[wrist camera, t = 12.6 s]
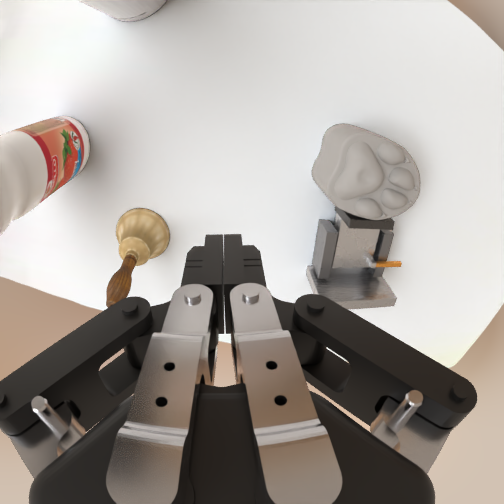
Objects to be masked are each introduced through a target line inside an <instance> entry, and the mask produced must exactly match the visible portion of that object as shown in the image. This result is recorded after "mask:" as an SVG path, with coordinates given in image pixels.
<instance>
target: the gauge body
mask: <svg viewBox="0 0 504 504" xmlns="http://www.w3.org/2000/svg"><path fill="white" fill-rule="evenodd" d="M337 236H338V232H337V230H336V229H335V227H334V226H333V225H332V223H331V222H330V220H319V223H318V229H317V236H316V242H315V248H314V254H313V260H312V264H313V266H307V271H306V275H307V278H308V281H309V283H310V286H311V289H312V291H313V294H318V295H322V296H325V297H327V298H329V299H330V300H332V301H334V302H336V303H337V304H339V305H341V306H342V307H344V308H346V309H361V308H375V307H387V306H394V305H395V302H396V299H397V297H396V296H395V294H394V293H393V291H392V290H391V288H390V287H389V285H388V284H387V282H386V281H385V279H384V278H383V277H382V274H383V271H384V267H375V268H370V267H361V268H332V267H331V266H332V261H333V257H334V252H335V247H336V241H337ZM393 236H394V234H393V233H392V230H384V229H380V232H379V236H378V240H377V244H376V248H375V252H374V255H373V259H374V260H375V262H380V261H387V257H388V254H389V250H390V247H391V243H392V240H393Z"/></svg>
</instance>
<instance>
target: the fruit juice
mask: <svg viewBox="0 0 504 504" xmlns="http://www.w3.org/2000/svg"><path fill="white" fill-rule="evenodd" d="M89 152H90V143H89V138H88V134H87V132H86V130H85V128H84V127H83V126H82V124H81V123H80V122H78V121H77V120H75V119H73V118H71V117H67V116H58V117H54V118H50V119H47V120H43V121H40V122H37V123H34V124H31V125H28V126H25V127H22V128H19V129H16V130H13V131H10V132H7V133H4V134H2V135H0V235H2V234H3V232H4V231H5V230H6V229H7V227H8V226H9V224H10V222H11V221H13V220H16V219H18V218H20V217H22V216H24V215H25V214H27V213H28V212H30V211H31V210H32V209H34V208H35V207H36V206H37V205H38V204H39V203H41V202H42V201H43V200H44V199H46V198H47V197H48V196H50V195H51V194H52V193H54V192H55V191H56V190H57V189H59V188H60V187H61V186H63V185H64V184H66V183H67V182H68V181H70V180H71V179H72V178H74V177H75V176H76V175H78V174H79V173H80V171H81V170H82V169H83V168H84V166H85V164H86V162H87V160H88V157H89Z"/></svg>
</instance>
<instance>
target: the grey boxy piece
mask: <svg viewBox="0 0 504 504" xmlns="http://www.w3.org/2000/svg"><path fill="white" fill-rule="evenodd" d="M335 211H336V217H335V223H334V227H335V229H336V230H337V232H338V236H337V241H336V247H335V252H334V257H333V261H332V266H331V267H332V268H361V267H370V268H375V267H401V264H402V263H401V262H400V261H380V262H375V260H374V259H373V255H374V252H375V248H376V244H377V240H378V236H379V232H380V229H384V230H393V226H394V221H393V220H392V219H391V218H387V219H382V220H371V219H366V218H363V217H359V216H356V215H353V214H351V213H348V212H346V211H344V210H341V209H339V208H338V207H336V206H335Z"/></svg>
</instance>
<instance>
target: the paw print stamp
mask: <svg viewBox="0 0 504 504" xmlns="http://www.w3.org/2000/svg"><path fill="white" fill-rule="evenodd" d="M312 177H313V180H314V181H315V183H316V184H317V185H318V186H319V188H320V189H321V190H322V191H323V192H324V194H325V195H326V196H327V197H328V199H329V200H330V201H331V202H332V203H333V204H334V205H335V206H336V207H338V208H339V209H341V210H344V211H346V212H348V213H351V214H353V215H356V216H359V217H363V218H366V219H371V220H382V219H387V218H391V217H394V216H397V215H399V214H401V213H403V212H405V211H406V210H407V209H409V208H410V207H411V206H412V205H413V204H414V203H415V202H416V200H417V198H418V195H419V192H420V176H419V171H418V169H417V166H416V164H415V162H414V161H413V159H412V157H411V156H410V154H409V153H408V152H407V151H406V150H405V149H404V148H403V147H401V146H400V145H398V144H397V143H395V142H393V141H391V140H389V139H387V138H385V137H382V136H380V135H377V134H375V133H372V132H370V131H367V130H365V129H362V128H359V127H356V126H353V125H349V124H337V125H334V126H332V127H330V128H329V129H327V131H326V132H325V134H324V136H323V140H322V145H321V150H320V153H319V155H318V157H317V158H316V160H315V162H314V164H313V167H312Z"/></svg>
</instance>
